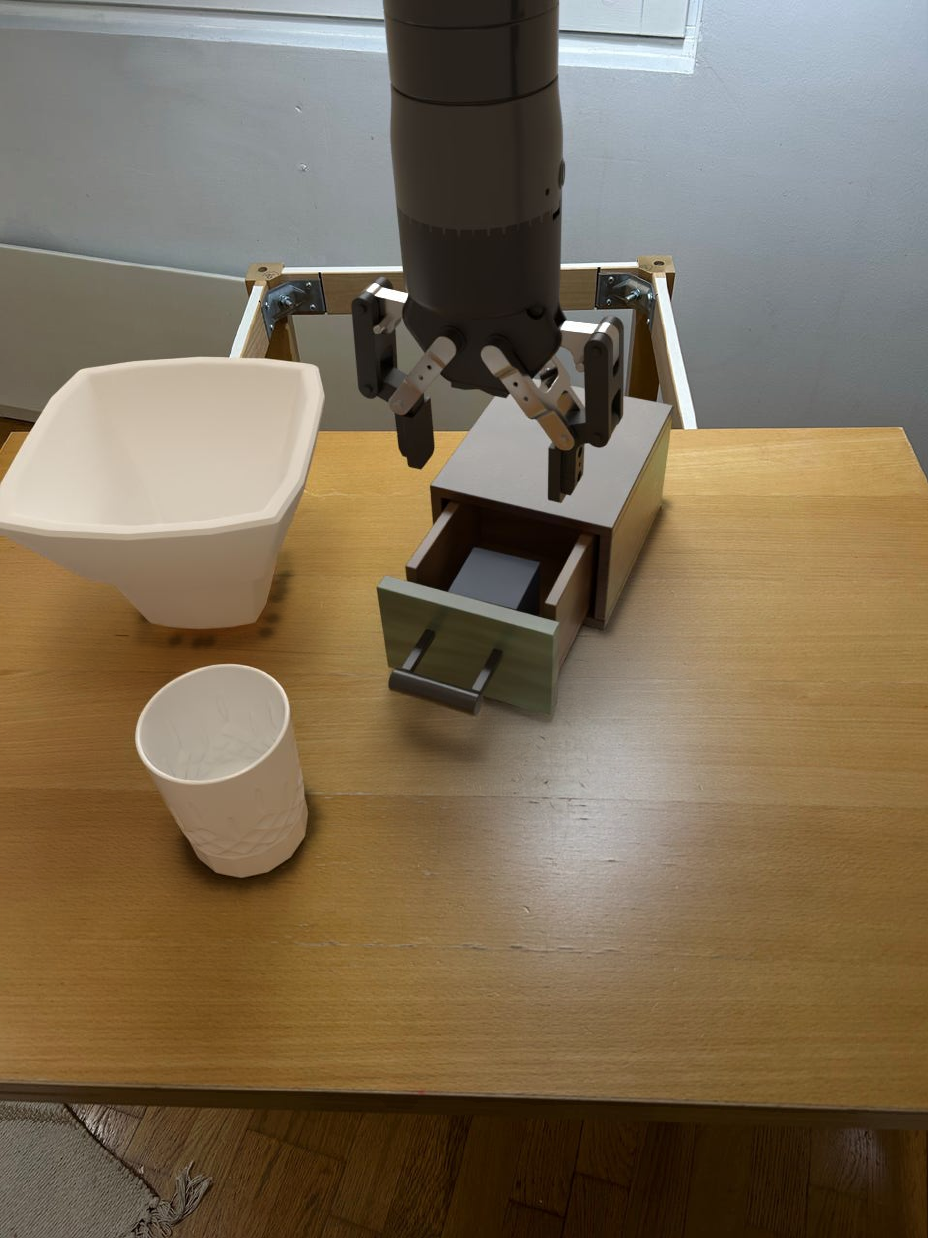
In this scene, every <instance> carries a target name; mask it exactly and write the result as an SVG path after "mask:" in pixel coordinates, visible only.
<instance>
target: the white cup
mask: <svg viewBox="0 0 928 1238" xmlns="http://www.w3.org/2000/svg"><path fill="white" fill-rule="evenodd" d="M134 733H135V734H134V740H135V747H136V751H137V753H138V756H139V758H140V760H141V761H142V764H143V765H144V767H145V769H146V770H147V772H148V774H149V776H150V778H151V780H152V782H153V784H154V785H155V788H157V791H158V793H159V794H160V796H161V798H162V800H163V802H164V803H165V806H166V808H167V809H168V811H169V812H170V814H171V815H172V817H173V818H174V821H175V822H176V824H177V825H178V828H179V829H180V830H181V832H182V833H183V834H184V836H185V837H186V838H187V840H188V841H189V843H190V845H191V848H192V849H193V851H194V854H196V856H197V859H199V860H200V861H201V863H204V864H205V865H206V866H207V867H208V868H210V870H212V871H213V872H214V873H216V874H220V875H225V876H228V877H229V876H230V877H234V878H240V879H242V878H248V877H252V876H256V875H262V874H266V873H270V871H272V870H274V869H275V868H276V867H278V866H280V865H281V864H283V863H284V862H286V861H287V860H288V859H290V858H292V856H293V854H294V853H295V852H296V850H297V849H298V848H299V846H300V845H301V843H302V841H304V838H305V837H306V833H307V825H308V818H309V810H308V806H307V800H306V795H305V782H304V776H303V771H302V763H301V757H300V752H299V746H298V742H297V738H296V732H295V728H294V721H293V715H292V711H291V706H290V701H289V698H288V695H287V693H286V691H285V689H284V688H283V686H282V685H281V684H280V683H279V682H278V681H277V679H275V677H273V676H271V675H270V674H268V673H267V672H265V671H263V670H261V669H258V668H255V667H252V666H249V665H244V664H236V663H221V664H212V665H207V666H203V667H200V668H197V669H193V670H191V671H188V672H186V673H183V674H182V675H180V676H177V677H175V678H174V679H173V680H171V681H169V682H168V683H167V684H165V685H164V686H162V687H161V688H160V689H159V690H158V691H156V693H155V694H154V695H153V696H152V697H151V699H149V700H148V701H147V703H146V705H145V706H144V707H143V709H142V711H141V713H140V715H139V718H138V720H137V723H136V726H135V732H134Z"/></svg>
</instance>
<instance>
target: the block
mask: <svg viewBox="0 0 928 1238" xmlns="http://www.w3.org/2000/svg"><path fill="white" fill-rule="evenodd" d="M448 592H449V593H453V594H457V595H460V596H464V597H468V598H472V599H475V600H479V601H483V602H486V603H490V604H494V605H497V606H501V607H505V608H509V609H512V610H516V611H520V612H523V613H527V614H531V615H534V616H538V615H539V613H540V562H537V561H532V560H528V559H524V558H519V557H515V556H511V555H507V554H502V553H498V552H494V551H490V550H485V549H481V548H477V547H474V548H473V550H472V551H471V553H470V555H469V556H468V558H467V560H466V562H465V563H464V565H463V567H462V568H461V570H460V572H459V573H458V575H457V577H456V579H455V580H454V582H453V584H452V585H451V587H450V589H449V590H448Z"/></svg>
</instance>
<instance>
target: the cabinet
mask: <svg viewBox="0 0 928 1238" xmlns="http://www.w3.org/2000/svg"><path fill="white" fill-rule="evenodd" d="M532 380H533V382H534V383H535V384H536V386H537V387H538V388H539V387H540V385H541V379H540V378H539V379H538V378H535V377H534V378H533V379H532ZM571 388H572V389H573V391H574V392H575V394H576V395H577V397H578V398H579V399H580V401H581V402H582V404H583V405H584V407H585V387H580V386H574V385H571ZM674 408H675V407H674V405H673V404H669V403H663V402H658V401H653V400H648V399H643V398H638V397H632V396H629V395H628V396H627V395H623V417H622V419H621V421H620V422H619V424H618V425H617V426H616V428H615V429H614V431H613V433H612V435H611V438H610V440H609V442H608V443H607V445H606V446H604V447H601V448H598V447H594V446H592V445H591V444H589V443H588V444H585V447H584V465H583V466H584V469H583V475H582V477H581V479H580V481H579V482H578V484H577V486H576V488H575V489H574V491H573V493H572V495H571V496H570V495H566V496H565V498H564V500H563V501H562V503H558V502H554V501H550V500H548V448H549V446H550V445H551V443H552V441H551V439H550V438H549V437H548V435H547V434H546V432H545V431H544V430H543V428H542V427H541V425H540V424H539V423H538V421H537V420H535V419H533V420H532V419H529V418H528V417H527V416H526V415H525V413H524V412H523V411H522V409H521V408H520V406H519V405H518V404H517V402H516V401H515V399H514V398H513V397H512V395H511V394H509V395H508V397H507V398H502V397H497V396H492V399H491V400H490V401H489V403H488V404H487V406H486V407H485V409H484V410H483V412H481V414H480V415H479V417H478V418H477V420H476V421H475V422H474V424H473V425H472V426H471V428H470V429H469V431H468V432H467V433H466V435H465V436H464V437H463V439H462V440H461V442H460V443H459V445H458V446H457V447H456V448H455V450H454V451H453V453H452V454H451V456H450V457H449V458H448V459H447V461H446V463H445V464H444V465H443V467H442V468H441V469H440V471H439V472H438V474H437V475H436V476H435V478H434V479H433V480H432V481H431V483H430V485H429V491H430V505H431V506H430V507H431V517H432V518H431V519H432V526H433V525H434V524H435V522H436V521H437V519H438V518H439V516H440V515H441V513H442V512H443V511H444V509H445V508H446V506H447V505H448V503H449V502H450V500H455V501H459V502H464V503H468V504H472V505H476V506H480V507H485V508H489V509H493V510H497V511H501V512H506V513H510V514H514V515H518V516H522V517H526V518H531V519H535V520H539V521H543V522H547V523H552V524H556V525H560V526H564V527H568V528H573V529H577V530H581V531H585V532H589V533H594V534H598V535H600V545H599V559H598V572H597V586H596V595H595V597H594V599H593V601H592V603H591V605H590V607H589V609H588V611H587V613H586V616H585V618H584V620H583V622H582V624H581V625H585V626H588V627H593V628H596V629H600V630H603V631H604V630H605V629H606V627H607V624H608V622H609V620H610V618H611V616H612V614H613V611H614V609H615V607H616V605H617V602H618V600H619V598H620V597H621V594H622V591H623V590H624V587H625V585H626V582H627V580H628V578H629V577H630V574H631V572H632V569H633V568H634V566H635V563H636V561H637V558H638V556H639V554H640V552H641V549H642V548H643V545H644V543H645V541H646V539H647V536H648V534H649V532H650V530H651V528H652V526H653V524H654V521H655V519H656V517H657V515H658V513H659V511H660V508H661V506H662V502H663V501H662V500H663V494H664V485H665V478H666V471H667V470H666V469H667V464H668V463H667V462H668V454H669V446H670V439H671V438H670V437H671V431H672V425H673V424H672V422H673V415H674Z"/></svg>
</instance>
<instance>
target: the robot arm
mask: <svg viewBox="0 0 928 1238" xmlns="http://www.w3.org/2000/svg"><path fill="white" fill-rule="evenodd" d="M382 8H383V12H382V13H383V21H384V22H383V23H384V31H385V42H386V52H387V64H388V74H389V75H388V76H389V81H390V119H389V120H390V121H389V123H390V125H389V126H390V127H389V137H390V138H389V140H390V142H389V143H390V154H391V165H392V166H391V167H392V174H393V175H392V176H393V185H394V196H395V206H396V214H397V227H398V237H399V245H400V256H401V266H402V267H401V268H402V277H403V283H404V287H405V290H406V292H403V291H399V290H395V289H394V286H393V283H392V282H391V281H390V280H389V279H388V278H386V277H384V276H377V277H375V278H374V279H373V280H372V281H371V282H370V283H369V284H368V285H367V286H366V287H365V288H364V289H363V290H362V291H361V292H360V293H358V295H357V296H355V298H354V299H353V300H352V301H351V304H350V309H351V320H352V331H353V341H354V355H355V367H356V378H357V388H358V391H359V393H360V394H361V395H362V396H363V397H365V398H366V399H370V400H373V399H375V398H377V397H378V398H379V399H381V400H382V401H384V402H386V403H387V404H388V407H389V409H390V410H391V412H393V413H394V421H395V422H394V423H395V429H396V439H397V446H398V450H399V452H400V453H401V457H404V458H406V464H407V467H408V468H412V469H416V470H420V471H421V470H423V468H424V467H425V466H426V464H427V463H428V462H429V461H430V459H431V458H432V456H433V455H434V453H435V448H436V447H435V445H436V443H435V434H434V423H433V421H434V420H433V410H432V409H433V408H432V399H431V398H432V397H431V396H427V395H425V391H427V390H428V388H429V387H430V386H432V384H433V382H434V381H435V380H436V379H437V377H438V376H439V375H440V376H441V377H442V378H444V379H445V380H446V381H448V382H449V383H450V387H451V388H453V389H458V390H462V391H471V390H479V391H481V392H483V393H486V394H488V395H489V396H492V397H494V396H497V397H502V398H507V397H508V395H509V394H511V395H512V397H513V398H514V399H515V401H516V402H517V404H518V405H519V406H520V408H521V409H522V411H523V412H524V413H525V415H526V416H527V417H528V418H529V419H532V420H533V419H535V420H537V421H538V423H539V424H540V425H541V427H542V428H543V430H544V431H545V432H546V434H547V435H548V437H549V438H550V439H551V441H552V443H551V445H550V446H549V448H548V500H550V501H554V502H558V503H562V501H563V500H564V498H565V496H566V495H570V496H571V495H572V493H573V491H574V489H575V488H576V486H577V484H578V482H579V481H580V479H581V477H582V475H583V469H584V466H583V465H584V447H585V444H588V443H589V444H591V445H592V446H594V447H598V448H601V447H604V446H606V445H607V443H608V442H609V440H610V438H611V435H612V433H613V431H614V429H615V428H616V426H617V425H618V424H619V422H620V421H621V419H622V417H623V396H624V383H625V382H624V381H625V380H624V379H625V378H624V377H625V375H624V372H625V370H624V369H625V365H624V364H625V363H624V361H625V350H624V349H625V348H624V347H625V326H624V323H623V322H622V320H621V319H620V318H619V317H617V316H615V315H606V316H604V317H603V318H602V319H601V320H600V322H599V323H598V324H597V323H588V322H580V321H572V320H568V319H567V317H566V315H565V312H564V311H563V308H562V306H561V302H560V301H561V300H560V288H561V274H562V273H561V272H562V271H561V270H562V267H561V265H562V227H563V225H562V223H563V221H562V217H563V187H564V185H565V179H566V161H565V159H564V125H563V124H564V123H563V113H562V103H561V97H560V95H561V94H560V83H559V82H560V80H559V77H560V76H559V51H560V50H559V47H560V46H559V45H560V41H559V40H560V0H382ZM401 322H403V324H404V326H405V328H406V329H407V331H408V332H409V333H410V335H411V336H412V338H413V339H414V340H415V342H416V343H417V345H418V346H419V348H420V349H421V350H422V352H423V353H424V354H423V355H422V357H420V359H419V360H418V362H416V364H415V365H414V367H413V368H412V369H411V370H410V371H409V373H408V374H407V373H405V372H404V371H403V370H400V369H398V350H397V347H398V346H397V329H396V328H398V326H399V325H400V324H401ZM560 348H563V349H565V350H567V351H569V353H570V354H571V356H572V360H573V363H574V365H575V367H574V368H575V370H576V371H577V372H579V373H583V381H584V382H583V383H584V388H585V407H584V405H583V404H582V402H581V401H580V399H579V398H578V397H577V395H576V394H575V392H574V391H573V389H572V388H571V386H572V385H571V376H570V374H569V372H568V370H567V369H566V368H565V367H564V365H563V363H562V362H561V361H560V359H559V358H558V356H557V355H556V354H557V353H558V351H559V350H560ZM537 375H538V377H539V380H541V385H540V387H539V388H538V387H537V386H536V384H535V383H534V382H533V380H532V379H533V378H534V379H535V377H537Z"/></svg>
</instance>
